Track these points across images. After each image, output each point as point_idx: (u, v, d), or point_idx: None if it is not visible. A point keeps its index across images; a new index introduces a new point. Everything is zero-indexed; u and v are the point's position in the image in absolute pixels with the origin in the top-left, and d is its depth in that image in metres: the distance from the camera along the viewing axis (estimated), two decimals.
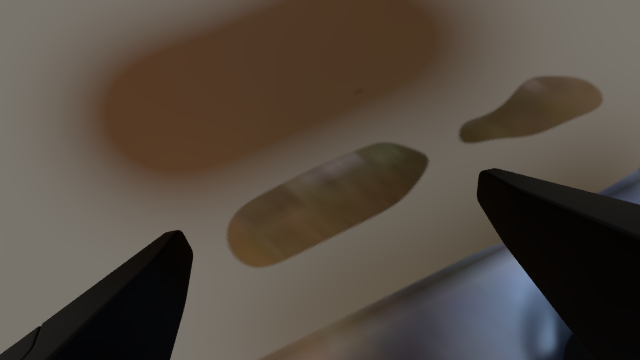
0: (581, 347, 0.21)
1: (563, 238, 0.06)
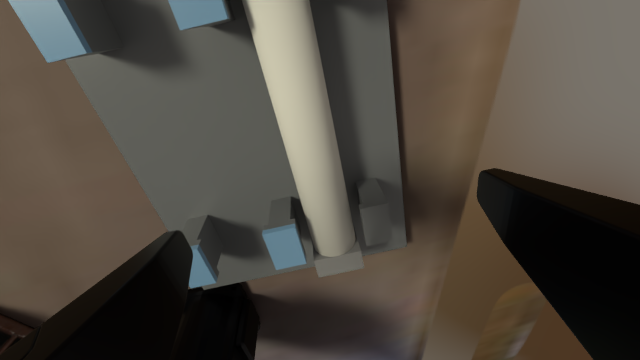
0: None
1: (563, 238, 0.06)
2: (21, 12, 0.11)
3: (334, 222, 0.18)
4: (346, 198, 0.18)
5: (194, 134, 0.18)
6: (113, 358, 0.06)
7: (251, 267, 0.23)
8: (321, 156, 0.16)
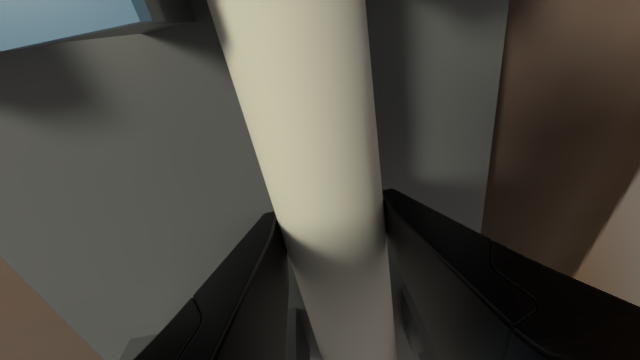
0: None
1: (422, 264, 0.06)
2: None
3: None
4: (394, 335, 0.11)
5: (127, 224, 0.10)
6: (259, 331, 0.06)
7: None
8: (362, 293, 0.08)
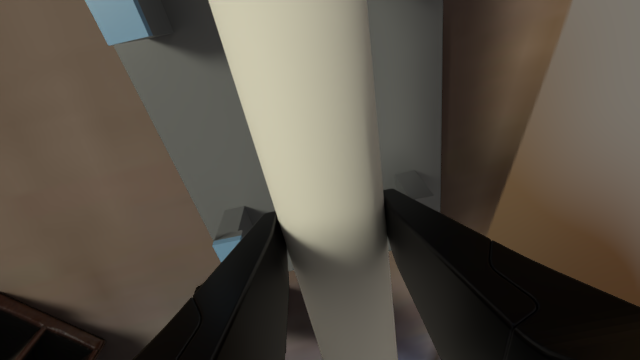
0: None
1: (421, 265, 0.06)
2: None
3: None
4: (394, 334, 0.11)
5: (237, 123, 0.17)
6: (259, 331, 0.06)
7: None
8: (363, 293, 0.08)
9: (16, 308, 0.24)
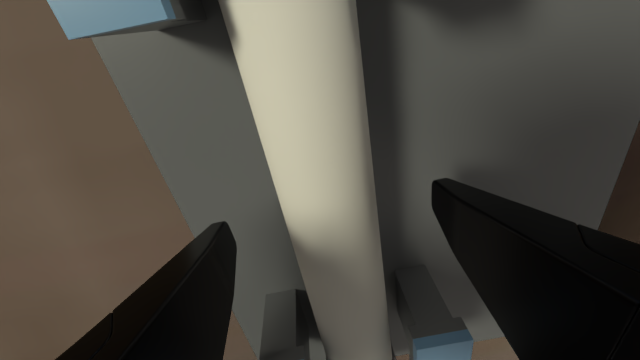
0: None
1: (496, 251, 0.06)
2: None
3: (366, 352, 0.11)
4: (386, 310, 0.11)
5: None
6: (181, 345, 0.06)
7: None
8: (355, 266, 0.09)
9: None
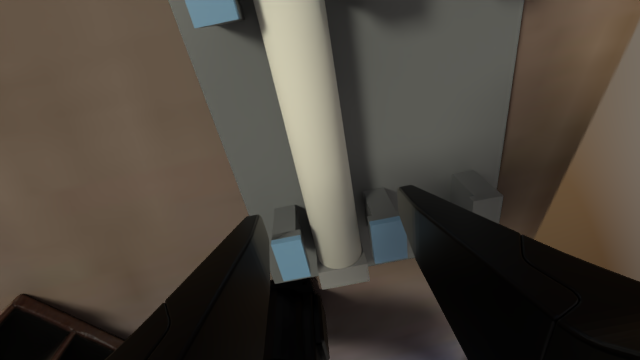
0: None
1: (447, 260, 0.06)
2: None
3: (341, 234, 0.17)
4: (354, 209, 0.18)
5: None
6: (232, 336, 0.06)
7: None
8: (330, 165, 0.15)
9: (45, 312, 0.23)
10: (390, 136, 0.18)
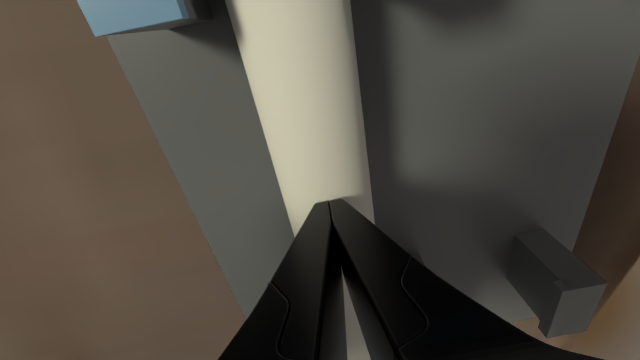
0: None
1: (352, 278, 0.06)
2: None
3: None
4: None
5: None
6: (334, 317, 0.06)
7: None
8: None
9: None
10: (434, 188, 0.12)
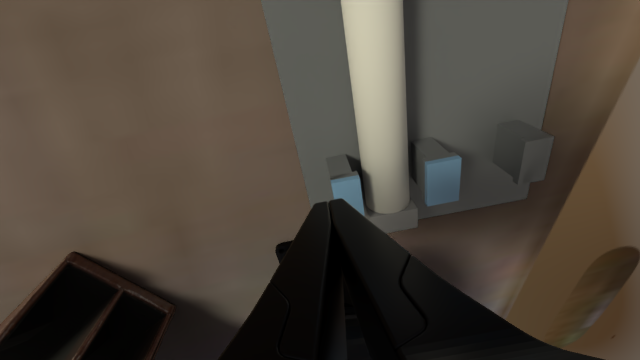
0: None
1: (352, 278, 0.06)
2: None
3: (396, 176, 0.18)
4: (407, 153, 0.18)
5: None
6: (334, 317, 0.06)
7: None
8: (393, 102, 0.16)
9: (95, 269, 0.24)
10: (442, 83, 0.18)
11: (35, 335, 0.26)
